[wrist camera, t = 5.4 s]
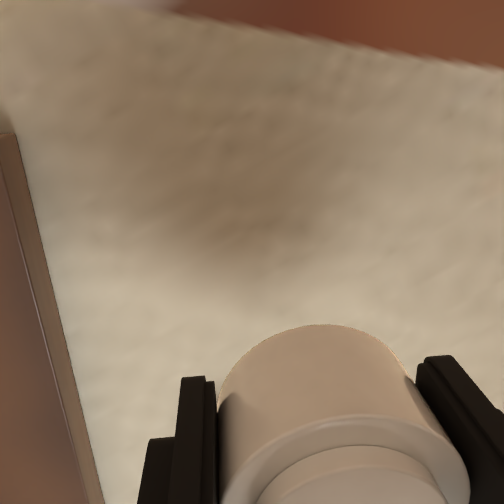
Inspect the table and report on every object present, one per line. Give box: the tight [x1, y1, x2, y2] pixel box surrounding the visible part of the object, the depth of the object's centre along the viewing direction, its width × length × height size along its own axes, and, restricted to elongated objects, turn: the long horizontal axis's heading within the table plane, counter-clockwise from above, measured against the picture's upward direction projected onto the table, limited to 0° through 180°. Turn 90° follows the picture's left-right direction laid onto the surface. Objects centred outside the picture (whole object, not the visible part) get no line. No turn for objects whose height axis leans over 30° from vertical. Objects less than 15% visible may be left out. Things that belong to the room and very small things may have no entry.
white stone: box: [217, 325, 471, 504], centre depth 10 cm, size 5×5×4 cm
